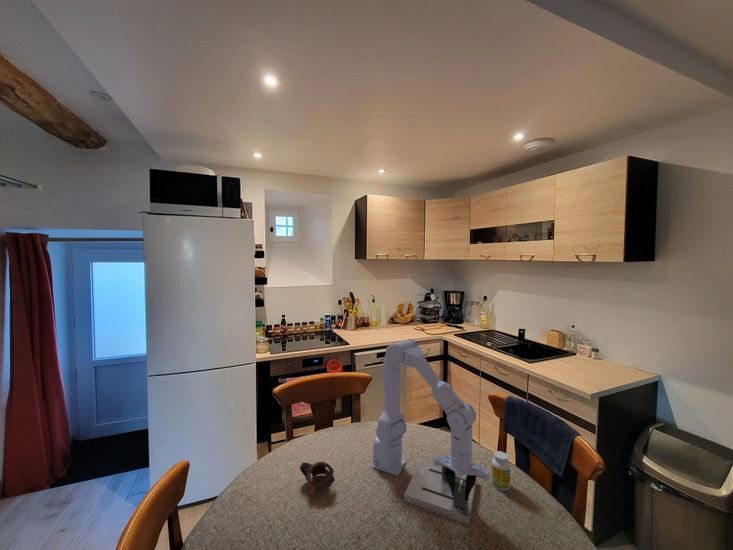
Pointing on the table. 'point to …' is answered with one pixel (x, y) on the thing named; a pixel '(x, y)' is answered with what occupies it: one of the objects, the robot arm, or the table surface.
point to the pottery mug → (316, 470)
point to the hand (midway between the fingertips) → (460, 496)
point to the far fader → (443, 472)
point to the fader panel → (436, 492)
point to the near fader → (459, 493)
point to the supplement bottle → (500, 471)
